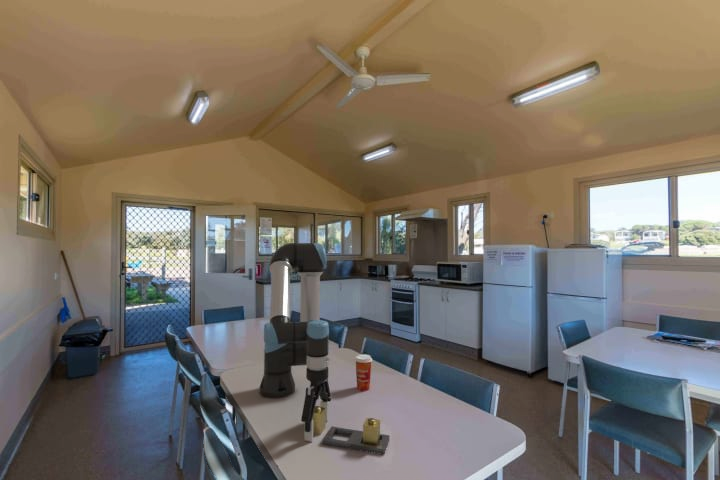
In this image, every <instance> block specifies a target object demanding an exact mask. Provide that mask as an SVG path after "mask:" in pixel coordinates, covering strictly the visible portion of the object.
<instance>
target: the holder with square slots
mask: <svg viewBox="0 0 720 480" xmlns="http://www.w3.org/2000/svg"><path fill="white" fill-rule="evenodd" d="M336 433H337V434H336ZM335 434H336V435H342V434H343V435H344V436H348V435H350V436H349V438H348V440H342V439H336V438H335V436H336V435H335ZM343 435H342V436H343ZM333 437H334V438H333ZM380 440H381V441H380ZM389 443H390V435H389V434H383V433H382V434H381V419H375V418H374V417H370V418H369V417H367V418H365V420H364V422H363V424H362V430H358V429H351V428H344V427H338V426H331V427H330V428H329V429H328V431H327V433H326V434H325V435H324V437H323V438H322V445H324V446H325V445H326V446H332V447H336V446H338V447H337V448H342V447H343V448H344V449H348V448H350V449H349V450H354V449H355V450H356V451H360V450H362V451H361V452H365V451H368V452H367V453H371V452H373V453H372V454H377V453H381V454H380V455H383V454H385V455H386V452H385V451H387V449H388V446H389ZM343 448H342V449H343ZM386 448H387V449H386ZM355 450H354V451H355ZM374 452H375V453H374Z"/></svg>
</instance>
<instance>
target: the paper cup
mask: <svg viewBox="0 0 720 480" xmlns="http://www.w3.org/2000/svg"><path fill="white" fill-rule="evenodd" d="M354 361H355V374H356V389H357V390H358V391H361V392H366V391H367V392H368V391H369V390H370V386H371V376H372V375H371V373H372V372H371V371H372V362H373V358H372V356H371V355H370V354H358V355H357V356H355V359H354Z"/></svg>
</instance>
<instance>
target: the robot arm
mask: <svg viewBox="0 0 720 480" xmlns="http://www.w3.org/2000/svg"><path fill="white" fill-rule="evenodd" d="M327 262H328V261H327V254H326V249H325V246H324V244H322V243H316V242H296V243H295V242H289V243H288V242H287V243H284V244H283V245H281V246H280V247H278V248H277V250H276V251H274V253H273V254H272V256H271V258H270V261H269V266H268V267H269V269H268V270H269V272H270V274H271V279H270V284H271V285H270V306H269V309H270V310H269V322H268V323H267V322H266V323H264V325H263V343H264V349H263V353H264V354H263V355H264V356H263V357H264V359H263V362H264V363H263V375H262V378H261V382H260V385H259V391H258V394H259V395H260V396H262V397H263V398H268V399H280V398H284V397H288V396H290V395H292V394H293V393H294V392H295V391H296V383H295V379H294V377H293V373H292V367H297V366H306V368H305V369H306V370H305V371H306V379H307V381H309V382H310V386H309V387H306V388H305V395H304V396H305V397H304V403H303V408H302V414H301V417H300V418H301V421H300V422H304V434H303V435H304V438H303V439H304V441H305V442H306V441H307V442H311V443H312V442H314V434H313V420H312V418H313V414H314V409H315V406H317V405H316V404H317V401H318V400H319V398H320V400H321V401H320V402H319V403H320V405H319V406H320V407H324V408H326V415H325V422H328V421H329V402H331V400H332V398H331V391H330V385H329V384H330V383H329V361H330V358H329V343H330V341H329V337H330V330H329V329H330V328H329V322H328V321H326V320H322V319H320V311H321V310H320V308H321V307H320V306H321V305H320V304H321V303H320V301H321V299H320V295H321V293H320V291H321V290H320V289H321V287H320V286H321V282H320V281H321V276H322V274H323V273H324V270H325V269H327V266H328V265H327ZM293 270H296V271H297V275H299V276H300V316H299V317H300V321H291V273H292V271H293Z"/></svg>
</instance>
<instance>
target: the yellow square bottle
mask: <svg viewBox="0 0 720 480" xmlns="http://www.w3.org/2000/svg"><path fill="white" fill-rule="evenodd" d="M325 415H326V408H324V407H320V405H315V409H314V414H313V418H312V420H313V435H318V436H321V435H323V434H322V433H323V432H324V430H325V429H326V421H325Z"/></svg>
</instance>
